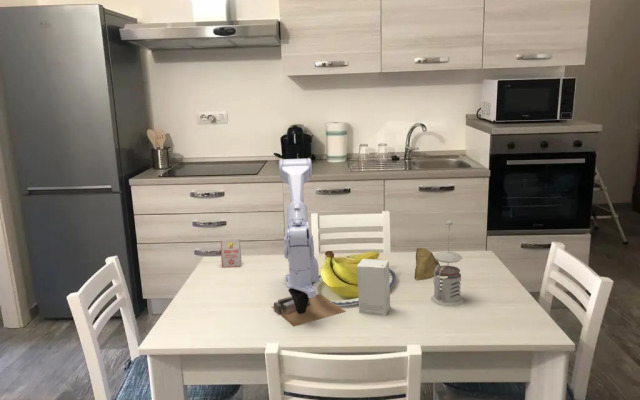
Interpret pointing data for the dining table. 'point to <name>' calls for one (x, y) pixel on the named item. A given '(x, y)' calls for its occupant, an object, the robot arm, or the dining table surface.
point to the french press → (447, 279)
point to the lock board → (308, 310)
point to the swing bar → (291, 306)
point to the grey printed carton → (230, 253)
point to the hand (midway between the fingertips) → (301, 312)
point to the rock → (425, 264)
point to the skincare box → (373, 286)
